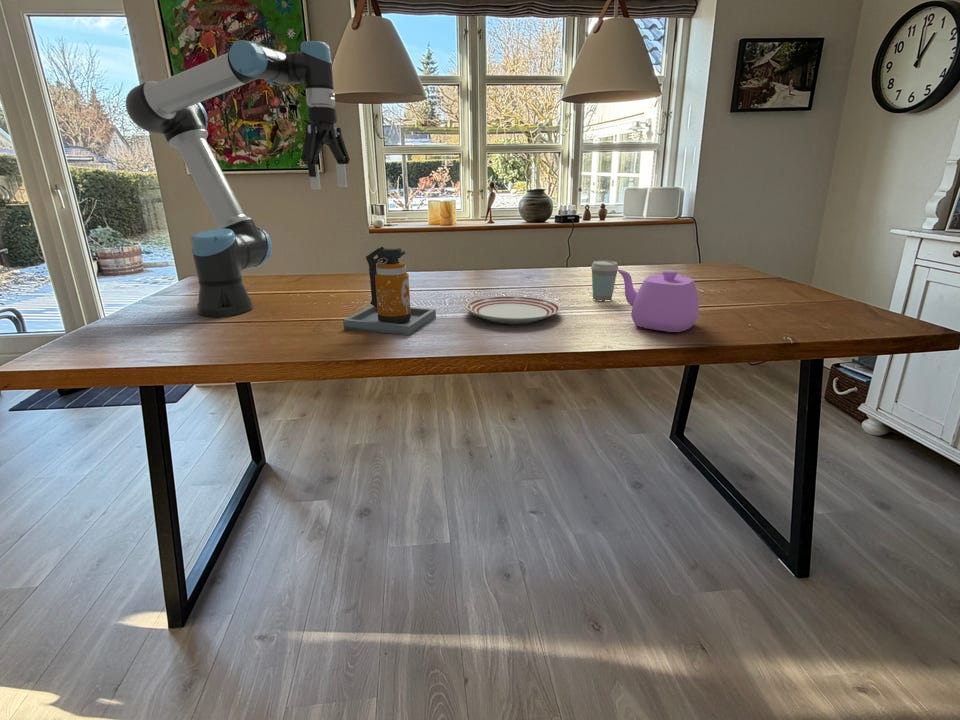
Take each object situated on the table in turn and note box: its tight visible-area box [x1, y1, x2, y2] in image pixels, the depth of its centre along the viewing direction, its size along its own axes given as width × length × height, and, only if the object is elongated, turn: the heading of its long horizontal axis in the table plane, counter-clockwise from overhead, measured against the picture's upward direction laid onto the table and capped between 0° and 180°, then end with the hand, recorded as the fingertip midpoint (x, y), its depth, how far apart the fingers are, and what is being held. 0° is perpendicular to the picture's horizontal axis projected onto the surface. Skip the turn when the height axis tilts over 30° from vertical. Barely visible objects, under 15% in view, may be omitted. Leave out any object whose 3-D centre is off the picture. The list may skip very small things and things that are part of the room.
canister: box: [365, 246, 411, 324], centre depth 141 cm, size 9×11×20 cm
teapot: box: [616, 268, 700, 333], centre depth 142 cm, size 23×21×15 cm
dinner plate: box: [465, 295, 561, 325], centre depth 152 cm, size 27×27×3 cm
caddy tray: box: [342, 304, 437, 336], centre depth 144 cm, size 19×17×2 cm
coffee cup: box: [590, 260, 620, 301], centre depth 166 cm, size 9×9×12 cm
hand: (329, 188), depth 151 cm, fingers open, 13 cm apart
